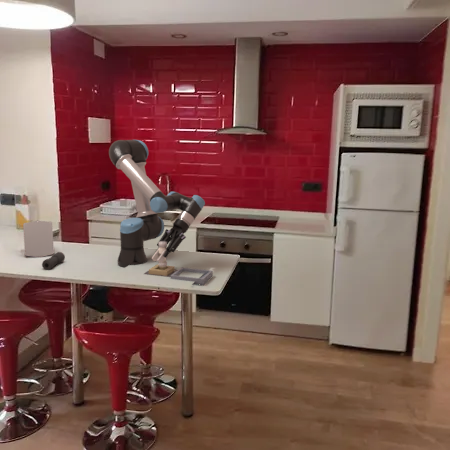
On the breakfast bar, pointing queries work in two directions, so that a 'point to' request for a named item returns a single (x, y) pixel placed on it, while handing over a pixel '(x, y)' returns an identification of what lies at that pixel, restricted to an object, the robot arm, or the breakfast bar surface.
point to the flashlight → (53, 260)
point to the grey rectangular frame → (201, 280)
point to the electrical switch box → (38, 238)
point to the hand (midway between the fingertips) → (156, 260)
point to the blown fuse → (161, 248)
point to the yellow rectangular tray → (161, 271)
